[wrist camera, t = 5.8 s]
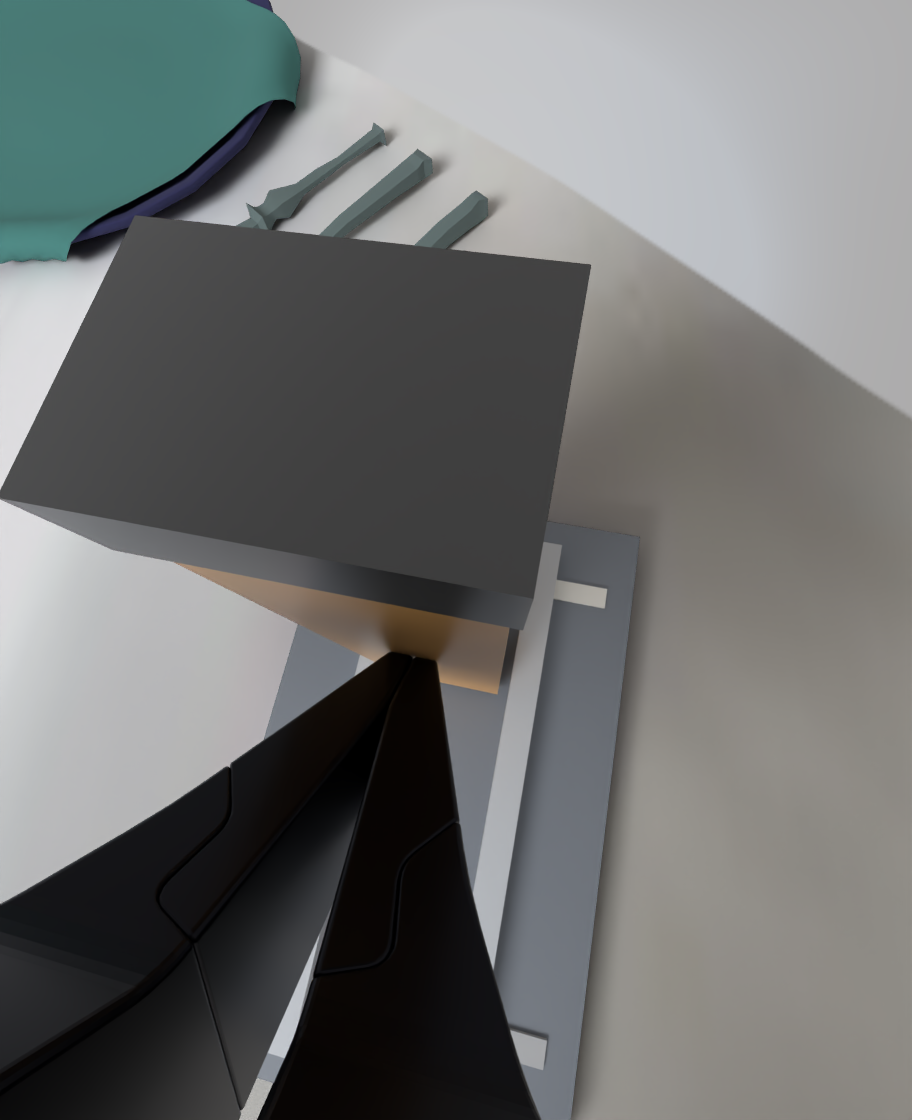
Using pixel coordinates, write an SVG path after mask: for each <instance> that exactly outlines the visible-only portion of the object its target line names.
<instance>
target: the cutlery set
mask: <svg viewBox="0 0 912 1120" xmlns="http://www.w3.org/2000/svg"><path fill="white" fill-rule="evenodd" d="M300 61H301V57H300V54H299V50H298V47H297V44H296V40H295V37H294V36H293V34H292V33H291V31H290V29H289V28H288V26H287V25H286V23H285V22H284V21H283V20H282V19H281V18H279V17H278V16H277V15H276V14H274V13H273V10H272V6H271V3H270V1H269V0H0V264H2V263H5V262H8V261H11V260H15V261H20V262H24V261H27V260H31V259H35V260H41V261H47V260H51V259H57V260H61V261H66V260H67V255H68V251H69V248H70V244H72V243H75V242H79V241H82V240H86V239H89V238H93V237H96V236H100V235H103V234H107V233H110V232H114V231H117V230H121V229H124V228H128V227H129V226H130V224H131V222H132V220H133V218H134V216H135V215H137V216H146V217H150V216H152V215H154V214H155V213H157V212H159V211H161V210H163V209H164V208H166V207H168V206H170V205H172V204H174V203H175V202H177V201H179V200H181V199H183V198H185V197H186V196H188V195H190V194H192V193H194V192H195V191H196V190H198V189H199V188H200V187H201V186H202V185H203V184H204V183H205V182H206V181H207V180H209V179H210V178H211V177H212V176H213V175H214V174H215V173H216V172H217V171H218V170H220V169H221V168H222V167H223V166H224V165H225V164H226V163H227V162H228V161H229V160H231V159H232V158H233V157H234V156H235V155H236V154H237V153H238V152H239V151H240V150H242V149H243V148H244V147H245V146H246V144H247V143H248V141H249V139H250V138H251V136H252V135H253V133H254V131H255V130H256V128H257V126H258V125H259V123H260V121H261V120H262V118H263V116H264V115H265V113H266V112H267V110H268V108H269V107H270V105H271V103H272V102H273V100H279V99H286V100H289V101H292V102H294V104H295V106H294V110H295V108H296V93H297V89H298V85H299V80H300ZM378 142H381V143H383V144H384V145H386V140H385V135H384V130H383V129H382V128H380V127H379V126H378V125H376V124H375V123H373V127H372V130H371V131H369V132H368V133H367V134H366V135H365V136H363V137H362V138H361V139H360V140H358V141H357V142H356V143H355V144H353V145H352V146H351V147H350V148H348V149H347V150H346V151H345V152H343V153H342V154H341V155H340V156H338V157H337V158H335V159H333V160H332V161H330V162H328V163H326V164H324V165H323V166H321V167H319V168H317V169H316V170H314V171H313V172H311V173H310V174H309V175H307V176H306V177H304V178H303V179H302V180H300V181H299V182H298V183H296V184H293V185H289V186H285V187H281V188H277V189H273V190H269V192H268V194H267V197H266V199H265V201H264V203H263V204H261V205H260V206H258V207H253V206H251V205H249V204H247V203H246V204H247V208H248V211H249V214H250V217H251V218H250V219H248V220H246V221H244V222H242V223H240V224H238V225H237V226H238V227H248V228H257V229H266V230H271V229H272V226H273V225H274V223H275V221H276V219H282V218H290V216H291V215H292V213H293V212H294V210H295V209H296V207H297V205H298V204H299V202H300V201H301V199H302V198H303V196H304V194H306V193H307V192H308V191H310V190H311V189H312V188H314V187H315V186H317V185H318V184H319V183H321V182H322V181H323V180H325V179H326V178H327V177H329V176H330V175H331V174H332V173H334V172H335V171H336V170H337V169H339V168H340V167H341V166H342V165H344V164H345V163H347V162H348V161H350V160H352V159H353V158H355V157H356V156H358V155H359V154H361V153H363V152H364V151H366V150H367V149H369V148H371V147H372V146H374V145H375V144H377V143H378ZM432 173H433V169H432V159H431V158H430V157H428V156H427V155H425V154H424V153H423V152H421V151H420V150H418V149H417V150H416V151H415V152H414V153H413V154H412V155H410V156H409V157H408V158H407V159H405V160H404V161H403V162H402V163H401V164H400V165H398V166H397V167H396V168H395V169H394V170H393V171H391V172H390V173H389V174H388V175H387V176H386V177H384V178H383V179H382V180H381V181H380V182H378V183H377V184H376V185H375V186H374V187H373V188H371V189H370V190H369V191H368V192H367V193H365V194H364V195H363V196H362V197H361V198H360V199H358V200H357V201H356V202H355V203H353V204H352V205H351V206H350V207H349V208H347V209H346V210H345V211H344V212H343V213H341V214H340V215H339V216H338V217H337V218H336V219H335V220H334V221H333V222H332V223H331V224H330V225H329V226H328V227H327V228H326V229H325V230H324V231H323V232H322V233H321V234H320V235H322V236H331V237H340V238H343V237H344V236H345V235H346V234H347V233H349V232H350V231H351V230H353V229H354V228H355V227H357V226H358V225H360V224H361V223H362V222H364V221H365V220H366V219H368V218H369V217H371V216H372V215H373V214H375V213H376V212H377V211H379V210H380V209H381V208H383V207H384V206H385V205H387V204H388V203H389V202H391V201H392V200H394V199H395V198H396V197H398V196H399V195H401V194H402V193H404V192H405V191H407V190H408V189H410V188H411V187H413V186H414V185H416V184H417V183H419V182H420V181H422V180H423V179H425V178H426V177H428V176H429V175H431V174H432ZM487 216H488V199H487V198H486V197H485V196H483V195H482V194H480V193H479V192H478V191H475V192H474V193H472V194H471V195H470V196H469V197H467V198H466V199H465V200H464V201H463V202H462V203H461V204H460V205H459V206H457V207H456V208H455V209H454V210H453V211H451V212H450V213H449V214H448V215H446V216H445V217H444V218H443V219H442V220H440V221H439V222H438V223H437V224H436V225H435V226H434V227H433V228H432V229H431V230H430V231H429V232H428V233H427V234H425V235H424V236H423V237H422V238H421V239H420V240H419V241H418V242H417V243H416V244H415V245H414V246H423V247H433V248H442V249H446V248H447V247H448V246H449V245H450V244H451V243H453V242H454V241H455V240H457V239H458V238H459V237H460V236H462V235H463V234H464V233H466V232H467V231H468V230H469V229H471V228H472V227H474V226H475V225H477V224H478V223H480V222H481V221H482V220H483V219H485V218H486V217H487Z"/></svg>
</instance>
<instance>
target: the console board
mask: <svg viewBox="0 0 912 1120" xmlns="http://www.w3.org/2000/svg"><path fill="white" fill-rule="evenodd" d="M639 541H640V537H638V536H632V535H626V534H620V533H614V532H608V531H602V530H596V529H590V528H584V527H579V526H573V525H567V524H561V523H555V522H549V521H547V524H546V530H545V536H544V542H543V548H542V553H541V559H540V565H539V571H538V577H537V582H536V588H535V594H534V599H533V602H532V605H531V608H530V611H529V614H528V617H527V620H526V623H525V626H524V629H523V630H518V629H513V628H509V634H508V639H507V645H506V650H505V656H504V661H503V667H502V672H501V678H500V683H499V689H498V694H493V693H488V692H483V691H478V690H474V689H469V688H464V687H460V686H455V685H450V684H445V683H441V682H440V685H441V692H442V699H443V706H444V713H445V720H446V727H447V734H448V741H449V748H450V755H451V762H452V769H453V776H454V783H455V790H456V797H457V804H458V811H459V818H460V822H459V824H460V825H461V830H462V838H463V844H464V851H465V856H466V862H467V867H468V873H469V879H470V884H471V888H472V892H473V896H474V901H475V905H476V909H477V913H478V917H479V921H480V925H481V929H482V932H483V936H484V939H485V943H486V946H487V950H488V953H489V957H490V960H491V964H492V967H493V971H494V975H495V978H496V982H497V985H498V989H499V992H500V996H501V999H502V1003H503V1006H504V1010H505V1013H506V1017H507V1021H508V1024H509V1028H510V1031H511V1035H512V1038H513V1041H514V1044H515V1048H516V1051H517V1054H518V1057H519V1060H520V1063H521V1066H522V1069H523V1072H524V1075H525V1078H526V1081H527V1084H528V1086H529V1089H530V1092H531V1095H532V1097H533V1100H534V1102H535V1105H536V1107H537V1110H538V1112H539V1115H540V1117H541V1119H542V1120H571V1112H572V1104H573V1096H574V1087H575V1079H576V1070H577V1062H578V1054H579V1045H580V1037H581V1028H582V1020H583V1012H584V1003H585V995H586V986H587V978H588V969H589V961H590V953H591V944H592V936H593V927H594V919H595V911H596V902H597V894H598V885H599V877H600V869H601V860H602V852H603V843H604V835H605V827H606V818H607V810H608V801H609V793H610V784H611V776H612V768H613V759H614V751H615V742H616V734H617V726H618V717H619V709H620V700H621V692H622V684H623V675H624V667H625V658H626V650H627V642H628V633H629V625H630V616H631V608H632V599H633V591H634V583H635V574H636V566H637V557H638V549H639ZM372 663H374V661H372V660H370V659H368V658H366V657H364V656H362V655H360V654H358V653H356V652H353V651H351V650H349V649H347V648H345V647H343V646H341V645H339V644H337V643H335V642H333V641H331V640H329V639H327V638H325V637H323V636H321V635H319V634H317V633H315V632H313V631H311V630H309V629H307V628H305V627H303V626H301V625H299V624H298V626H297V629H296V632H295V636H294V639H293V643H292V646H291V649H290V653H289V656H288V659H287V663H286V666H285V670H284V673H283V676H282V680H281V683H280V686H279V690H278V693H277V697H276V700H275V703H274V707H273V710H272V714H271V717H270V720H269V724H268V727H267V730H266V734H265V737H264V739H266V738H267V737H269V736H270V735H272V734H273V733H274V732H276V731H277V730H279V729H280V728H282V727H283V726H284V725H286V724H287V723H289V722H290V721H291V720H293V719H294V718H296V717H297V716H299V715H300V714H301V713H303V712H304V711H306V710H307V709H308V708H310V707H311V706H313V705H314V704H316V703H317V702H318V701H320V700H321V699H323V698H324V697H326V696H327V695H328V694H330V693H331V692H333V691H334V690H335V689H337V688H338V687H340V686H341V685H343V684H344V683H345V682H347V681H348V680H350V679H351V678H353V677H354V676H355V675H357V674H358V673H360V672H361V671H362V670H364V669H365V668H367V667H368V666H370V665H371V664H372ZM332 905H333V904H332ZM331 908H332V906H331ZM330 912H331V909H330V911H329V913H328V916H327V918H326V920H325V923H324V925H323V927H322V929H321V932H320V934H319V936H318V939H317V941H316V943H315V945H314V948H313V950H312V952H311V955H310V957H309V959H308V962H307V964H306V966H305V968H304V971H303V973H302V975H301V978H300V980H299V982H298V984H297V987H296V989H295V991H294V994H293V996H292V998H291V1001H290V1003H289V1005H288V1007H287V1010H286V1012H285V1014H284V1017H283V1019H282V1021H281V1023H280V1026H279V1028H278V1030H277V1033H276V1035H275V1037H274V1040H273V1042H272V1044H271V1046H270V1049H269V1051H268V1053H267V1056H266V1058H265V1060H264V1062H263V1065H262V1067H261V1069H260V1072H259V1074H258V1076H257V1078H259V1079H262V1080H266V1081H269V1082H272V1083H274V1081H275V1078H276V1076H277V1074H278V1072H279V1069H280V1067H281V1065H282V1063H283V1061H284V1058H285V1056H286V1054H287V1051H288V1049H289V1047H290V1045H291V1042H292V1040H293V1037H294V1034H295V1031H296V1028H297V1025H298V1023H299V1020H300V1017H301V1014H302V1011H303V1007H304V1004H305V1001H306V998H307V994H308V991H309V987H310V984H311V981H312V980H313V973H314V969H315V965H316V962H317V958H318V955H319V951H320V948H321V944H322V940H323V937H324V933H325V930H326V926H327V923H328V919H329V916H330Z"/></svg>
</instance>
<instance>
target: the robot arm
mask: <svg viewBox="0 0 912 1120" xmlns="http://www.w3.org/2000/svg"><path fill="white" fill-rule="evenodd" d="M459 822H460V818H459V811H458V804H457V797H456V790H455V783H454V776H453V769H452V762H451V755H450V748H449V741H448V734H447V727H446V720H445V713H444V706H443V699H442V692H441V685H440V678H439V671H438V664H437V662H436V661H435V660H430V659H425V658H420V657H415V658H412V656H410V655H406V654H401V653H396V652H388V653H387V654H385V655H384V656H382V657H381V658H380V659H378V660H377V661H375V662H374V663H372V664H371V665H370V666H368V667H367V668H365V669H364V670H362V671H361V672H360V673H358V674H357V675H355V676H354V677H353V678H351V679H350V680H348V681H347V682H345V683H344V684H343V685H341V686H340V687H338V688H337V689H335V690H334V691H333V692H331V693H330V694H328V695H327V696H326V697H324V698H323V699H321V700H320V701H318V702H317V703H316V704H314V705H313V706H311V707H310V708H308V709H307V710H306V711H304V712H303V713H301V714H300V715H299V716H297V717H296V718H294V719H293V720H291V721H290V722H289V723H287V724H286V725H284V726H283V727H282V728H280V729H279V730H277V731H276V732H274V733H273V734H272V735H270V736H269V737H267V738H266V739H264V740H263V741H262V742H260V743H259V744H257V745H256V746H255V747H253V748H252V749H250V750H249V751H247V752H246V753H245V754H243V755H242V756H240V757H239V758H237V759H236V760H235V761H233V762H232V763H231V764H230V768H229V767H224V768H223V769H222V770H220V771H219V772H217V773H216V774H214V775H213V776H212V777H210V778H209V779H207V780H206V781H204V782H203V783H201V784H200V785H198V786H197V787H195V788H194V789H193V790H191V791H190V792H188V793H187V794H185V795H184V796H182V797H181V798H179V799H178V800H176V801H175V802H173V803H172V804H170V805H169V806H167V807H165V808H164V809H162V810H160V811H159V812H157V813H155V814H154V815H152V816H151V817H149V818H147V819H146V820H144V821H142V822H141V823H139V824H137V825H136V826H134V827H133V828H131V829H129V830H128V831H126V832H124V833H122V834H121V835H119V836H117V837H116V838H114V839H112V840H110V841H109V842H107V843H105V844H104V845H102V846H100V847H99V848H97V849H95V850H93V851H92V852H90V853H88V854H87V855H85V856H83V857H81V858H80V859H78V860H76V861H75V862H73V863H71V864H69V865H68V866H66V867H64V868H63V869H61V870H59V871H57V872H56V873H54V874H52V875H51V876H49V877H47V878H46V879H44V880H42V881H40V882H39V883H37V884H35V885H34V886H32V887H30V888H28V889H27V890H25V891H23V892H21V893H20V894H18V895H16V896H14V897H12V898H10V899H9V900H7V901H5V902H3V903H1V904H0V1120H239V1118H240V1116H241V1112H240V1110H242V1109H243V1108H244V1106H245V1104H246V1101H247V1099H248V1097H249V1095H250V1092H251V1090H252V1088H253V1085H254V1083H255V1081H256V1079H257V1076H258V1074H259V1072H260V1069H261V1067H262V1065H263V1062H264V1060H265V1058H266V1056H267V1053H268V1051H269V1049H270V1046H271V1044H272V1042H273V1040H274V1037H275V1035H276V1033H277V1030H278V1028H279V1026H280V1023H281V1021H282V1019H283V1017H284V1014H285V1012H286V1010H287V1007H288V1005H289V1003H290V1001H291V998H292V996H293V994H294V991H295V989H296V987H297V984H298V982H299V980H300V978H301V975H302V973H303V971H304V968H305V966H306V964H307V962H308V959H309V957H310V955H311V952H312V950H313V948H314V945H315V943H316V941H317V939H318V936H319V934H320V932H321V929H322V927H323V925H324V923H325V920H326V918H327V916H328V913H329V911H330V909H331V912H330V916H329V919H328V923H327V926H326V930H325V933H324V937H323V940H322V944H321V948H320V951H319V955H318V958H317V962H316V965H315V969H314V973H313V980H312V981H311V984H310V987H309V991H308V994H307V998H306V1001H305V1004H304V1007H303V1011H302V1014H301V1017H300V1020H299V1023H298V1025H297V1028H296V1031H295V1034H294V1037H293V1040H292V1042H291V1045H290V1047H289V1049H288V1051H287V1054H286V1056H285V1058H284V1061H283V1063H282V1065H281V1067H280V1069H279V1072H278V1074H277V1076H276V1078H275V1081H274V1083H273V1085H272V1087H271V1090H270V1092H269V1094H268V1096H267V1099H266V1101H265V1103H264V1105H263V1107H262V1110H261V1112H260V1114H259V1116H258V1119H257V1120H542V1119H541V1117H540V1115H539V1112H538V1110H537V1107H536V1105H535V1102H534V1100H533V1097H532V1095H531V1092H530V1089H529V1086H528V1084H527V1081H526V1078H525V1075H524V1072H523V1069H522V1066H521V1063H520V1060H519V1057H518V1054H517V1051H516V1048H515V1044H514V1041H513V1038H512V1035H511V1031H510V1028H509V1024H508V1021H507V1017H506V1013H505V1010H504V1006H503V1003H502V999H501V996H500V992H499V989H498V985H497V982H496V978H495V975H494V971H493V967H492V964H491V960H490V957H489V953H488V950H487V946H486V943H485V939H484V936H483V932H482V929H481V925H480V921H479V917H478V913H477V909H476V905H475V901H474V896H473V892H472V888H471V884H470V879H469V873H468V867H467V862H466V856H465V851H464V844H463V838H462V830H461V825H460V824H459ZM332 904H333V905H332ZM331 906H332V908H331Z"/></svg>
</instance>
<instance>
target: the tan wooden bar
mask: <svg viewBox="0 0 912 1120" xmlns="http://www.w3.org/2000/svg"><path fill="white" fill-rule="evenodd" d="M590 269H591V265H590V264H580V263H571V262H562V261H553V260H543V259H534V258H525V257H516V256H506V255H497V254H488V253H479V252H469V251H460V250H451V249H442V248H433V247H423V246H414V245H405V244H396V243H386V242H377V241H368V240H359V239H349V238H340V237H331V236H322V235H312V234H303V233H294V232H285V231H275V230H266V229H257V228H248V227H238V226H229V225H220V224H211V223H202V222H192V221H183V220H174V219H165V218H155V217H146V216H137V215H135V216H134V218H133V220H132V222H131V224H130V226H129V228H128V230H127V233H126V235H125V237H124V239H123V241H122V243H121V245H120V247H119V249H118V251H117V253H116V255H115V257H114V259H113V261H112V263H111V265H110V267H109V269H108V271H107V273H106V275H105V277H104V280H103V282H102V284H101V286H100V288H99V290H98V292H97V294H96V296H95V298H94V300H93V302H92V304H91V306H90V308H89V310H88V312H87V314H86V316H85V318H84V320H83V322H82V324H81V326H80V329H79V331H78V333H77V335H76V337H75V339H74V341H73V343H72V345H71V347H70V349H69V351H68V353H67V355H66V357H65V359H64V361H63V363H62V365H61V367H60V369H59V371H58V373H57V376H56V378H55V380H54V382H53V384H52V386H51V388H50V390H49V392H48V394H47V396H46V398H45V400H44V402H43V404H42V406H41V408H40V410H39V412H38V414H37V416H36V418H35V420H34V423H33V425H32V427H31V429H30V431H29V433H28V435H27V437H26V439H25V441H24V443H23V445H22V447H21V449H20V451H19V453H18V455H17V457H16V459H15V461H14V463H13V465H12V467H11V469H10V472H9V474H8V476H7V478H6V480H5V482H4V484H3V486H2V488H1V490H0V499H1V500H3V501H5V502H7V503H9V504H12V505H14V506H16V507H18V508H21V509H23V510H25V511H27V512H29V513H32V514H34V515H36V516H38V517H41V518H43V519H45V520H47V521H49V522H52V523H54V524H56V525H58V526H61V527H63V528H65V529H67V530H70V531H72V532H74V533H76V534H78V535H81V536H83V537H85V538H87V539H90V540H92V541H94V542H96V543H98V544H101V545H103V546H105V547H107V548H110V549H112V550H115V551H120V552H126V553H131V554H136V555H141V556H146V557H151V558H156V559H161V560H166V561H171V562H174V563H176V564H178V565H180V566H182V567H184V568H186V569H188V570H190V571H192V572H194V573H196V574H198V575H200V576H202V577H204V578H206V579H208V580H211V581H213V582H215V583H217V584H219V585H221V586H223V587H225V588H227V589H229V590H231V591H233V592H235V593H237V594H239V595H241V596H243V597H245V598H247V599H249V600H251V601H253V602H255V603H257V604H259V605H261V606H263V607H265V608H267V609H269V610H271V611H273V612H275V613H277V614H279V615H281V616H283V617H285V618H287V619H289V620H291V621H293V622H295V623H297V624H299V625H301V626H303V627H305V628H307V629H309V630H311V631H313V632H315V633H317V634H319V635H321V636H323V637H325V638H327V639H329V640H331V641H333V642H335V643H337V644H339V645H341V646H343V647H345V648H347V649H349V650H351V651H353V652H356V653H358V654H360V655H362V656H364V657H366V658H368V659H370V660H372V661H374V662H375V661H377V660H378V659H380V658H381V657H382V656H384V655H385V654H387V653H388V652H396V653H401V654H406V655H410V656H412V658H415V657H420V658H425V659H430V660H435V661H436V662H437V664H438V671H439V678H440V682H441V683H445V684H450V685H455V686H460V687H464V688H469V689H474V690H478V691H483V692H488V693H493V694H498V689H499V683H500V678H501V672H502V667H503V661H504V656H505V650H506V645H507V639H508V634H509V628H513V629H518V630H523V629H524V626H525V623H526V620H527V617H528V614H529V611H530V608H531V605H532V602H533V599H534V594H535V588H536V582H537V577H538V571H539V565H540V559H541V553H542V548H543V542H544V536H545V530H546V524H547V519H548V513H549V507H550V501H551V495H552V490H553V484H554V478H555V472H556V466H557V461H558V455H559V449H560V443H561V437H562V432H563V426H564V420H565V414H566V408H567V403H568V397H569V391H570V385H571V379H572V374H573V368H574V362H575V356H576V350H577V345H578V339H579V333H580V327H581V321H582V316H583V310H584V304H585V298H586V292H587V287H588V281H589V275H590Z"/></svg>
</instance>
